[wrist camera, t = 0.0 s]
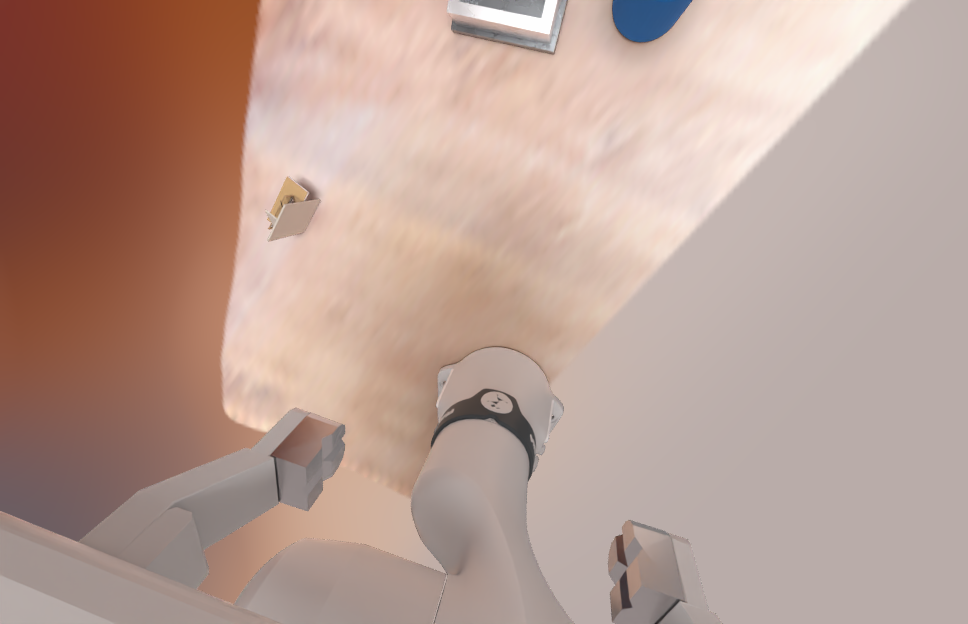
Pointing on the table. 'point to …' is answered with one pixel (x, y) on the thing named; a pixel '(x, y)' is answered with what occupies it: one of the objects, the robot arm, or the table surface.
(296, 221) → the architectural model
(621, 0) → the beverage can
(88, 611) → the robot arm
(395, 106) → the table surface
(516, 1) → the can holder
